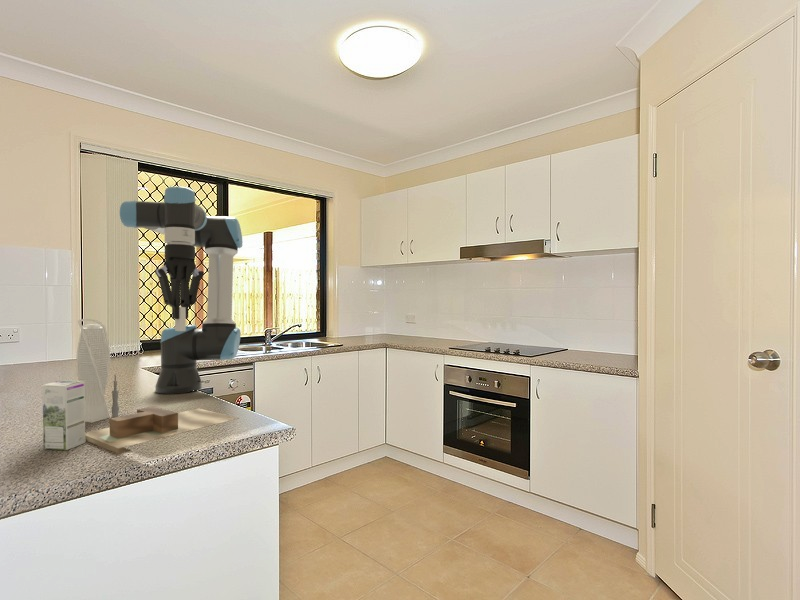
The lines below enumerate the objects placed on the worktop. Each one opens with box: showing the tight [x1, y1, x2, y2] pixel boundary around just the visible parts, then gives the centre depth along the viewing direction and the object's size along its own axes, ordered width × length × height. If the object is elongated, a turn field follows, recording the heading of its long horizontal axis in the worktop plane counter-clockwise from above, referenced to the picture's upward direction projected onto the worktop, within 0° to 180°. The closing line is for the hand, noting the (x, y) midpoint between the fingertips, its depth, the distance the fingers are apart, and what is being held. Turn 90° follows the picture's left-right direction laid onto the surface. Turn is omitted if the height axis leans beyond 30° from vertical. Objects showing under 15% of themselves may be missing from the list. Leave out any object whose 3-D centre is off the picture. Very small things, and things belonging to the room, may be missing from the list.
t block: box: [109, 406, 179, 439], centre depth 110 cm, size 12×12×4 cm
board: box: [85, 407, 239, 455], centre depth 115 cm, size 30×19×1 cm, turn 145°
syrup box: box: [41, 380, 87, 451], centre depth 102 cm, size 6×6×14 cm
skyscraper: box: [75, 318, 120, 424], centre depth 121 cm, size 8×8×28 cm
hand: (180, 330), depth 125 cm, fingers closed
